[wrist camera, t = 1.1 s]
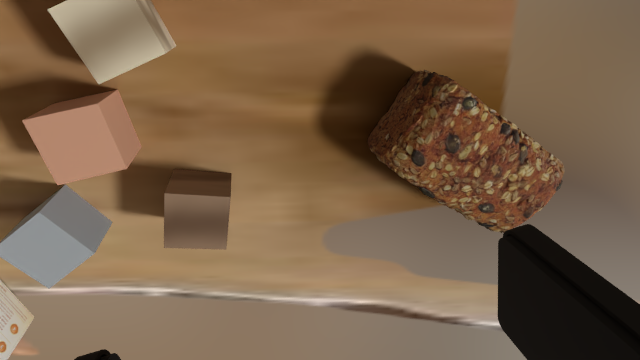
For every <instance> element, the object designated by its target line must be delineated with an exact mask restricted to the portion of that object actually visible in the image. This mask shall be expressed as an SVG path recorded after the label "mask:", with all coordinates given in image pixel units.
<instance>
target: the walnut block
mask: <svg viewBox="0 0 640 360" xmlns="http://www.w3.org/2000/svg"><path fill="white" fill-rule="evenodd" d="M230 196H231V173H221V172H207V171H193V170H180V169H174V170H173V173H172V175H171V178H170V180H169V183H168V186H167V188H166V191H165V193H164V248H192V249H226V246H227V234H228V222H229V209H230Z"/></svg>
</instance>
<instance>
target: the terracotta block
mask: <svg viewBox="0 0 640 360" xmlns="http://www.w3.org/2000/svg"><path fill="white" fill-rule="evenodd" d="M22 121H23V123H24V125H25V127H26V129H27V131H28V132H29V134H30V136H31V138H32V140H33V142H34V143H35V145H36V147H37V149H38V151H39V152H40V154H41V156H42V158H43V160H44V162H45V163H46V165H47V167H48V169H49V171H50V173H51V174H52V176H53V178H54V180H55V182H56V184H57V185H61V184H66V183H70V182H74V181H78V180H82V179H86V178H91V177H95V176H99V175H103V174H107V173H112V172H116V171H120V170H124V169H127V168H128V166H129V165H130V163H131V162H132V160H133V159H134V158H135V156H136V155H137V153H138V152H139V150H140V149H141V147H142V146H141V144H140V142H139V139H138V137H137V134H136V132H135V130H134V127H133V125H132V122H131V120H130V118H129V115H128V113H127V110H126V108H125V106H124V103H123V101H122V98H121V96H120V94H119V91H118V89H117V90H113V91H108V92H104V93H99V94H95V95H90V96H85V97H81V98H76V99H72V100H67V101H63V102H58V103H54V104H52V105H50V106H48V107H46V108H44V109H42V110H40V111H39V112H37V113H35V114H33V115H31V116H29V117H27V118H26V119H24V120H22Z"/></svg>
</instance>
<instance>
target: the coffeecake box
mask: <svg viewBox="0 0 640 360" xmlns="http://www.w3.org/2000/svg"><path fill="white" fill-rule="evenodd" d="M33 319H34V316H33V315H32V314H31V313H30V311H28V309H27V308H26V307H25V306H24V305H23V304H22V303H21V302H20V301H19V300H18V298H17V297H16V296H15V295H14V294H13V293H12V292H11V291H10V290H9V289H8V288H7V287H6V286H5V284H4V283H3V282H2V281H1V280H0V360H7V359H8V358H9V356H10V355H11V353H12V352H13V350H14V349H15V347H16V346H17V344H18V342H19V341H20V339H21V338H22V336H23V335H24V333H25V332H26V330H27V328H28V327H29V325H30V324H31V322H32V321H33Z"/></svg>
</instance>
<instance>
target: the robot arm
mask: <svg viewBox="0 0 640 360" xmlns="http://www.w3.org/2000/svg"><path fill="white" fill-rule="evenodd" d="M498 320H499V323H500V325H501V327H502V329H503V331H504V332H505V333H506V334H507V336H508V337H509V338H510V339H511V340H512V341H513V343H514V344H515V345H516V347H517V348H518V349H519V350H520V351H521V352H522V354H523V355H524V356H525V357H526V358H527V360H640V304H638V303H637V302H636V301H634V300H633V299H632V298H630V297H629V296H627V295H626V294H625V293H623V292H622V291H621V290H619V289H618V288H616V287H615V286H614V285H612V284H611V283H610V282H608V281H607V280H606V279H604V278H603V277H602V276H600V275H599V274H598V273H596V272H595V271H594V270H592V269H591V268H590V267H588V266H587V265H585V264H584V263H582V262H581V261H580V260H579V259H577V258H576V257H575V256H573V255H572V254H571V253H569V252H568V251H566V250H565V249H564V248H562V247H561V246H560V245H558V244H557V243H556V242H554V241H553V240H552V239H550V238H549V237H548V236H546V235H545V234H543V233H542V232H541V231H539V230H538V229H537V228H535V227H534V226H532V225H529V224H527V225H523V226H519V227H516V228H513V229H509V230H507V231H505V232H504V234H503V238H501V239H500V240H499V243H498ZM74 360H121V359H120V357H119V356H118V355H117V354H115V353H113V354H110V352H109V351H107V350H100V351H96V352H93V353H90V354H86V355H83V356H79V357H77V358H76V359H74Z"/></svg>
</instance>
